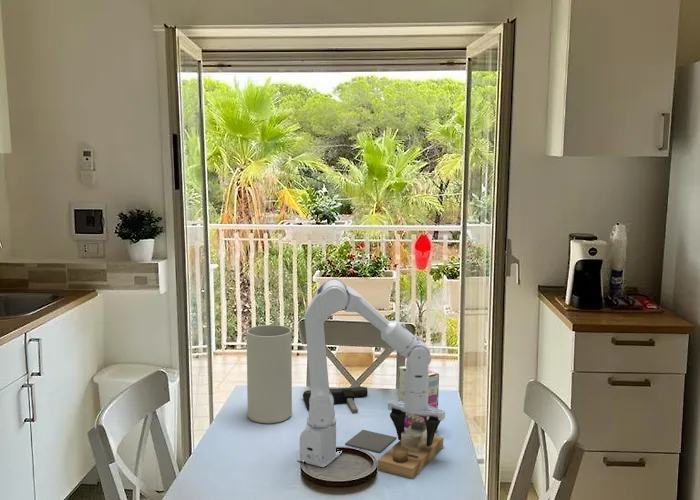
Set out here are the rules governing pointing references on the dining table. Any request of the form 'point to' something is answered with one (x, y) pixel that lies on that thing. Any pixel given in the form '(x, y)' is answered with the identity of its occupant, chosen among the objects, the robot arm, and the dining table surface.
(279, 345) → the cylinder vase
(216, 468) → the dining table surface
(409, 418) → the candy bar box
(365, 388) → the black two-tone device
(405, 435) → the off-white rectangular block
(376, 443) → the mat
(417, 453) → the wooden board with knob
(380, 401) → the dining table surface
